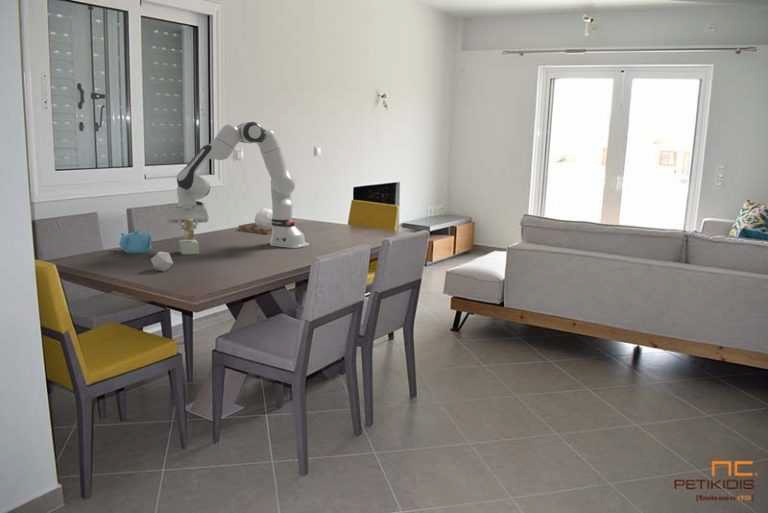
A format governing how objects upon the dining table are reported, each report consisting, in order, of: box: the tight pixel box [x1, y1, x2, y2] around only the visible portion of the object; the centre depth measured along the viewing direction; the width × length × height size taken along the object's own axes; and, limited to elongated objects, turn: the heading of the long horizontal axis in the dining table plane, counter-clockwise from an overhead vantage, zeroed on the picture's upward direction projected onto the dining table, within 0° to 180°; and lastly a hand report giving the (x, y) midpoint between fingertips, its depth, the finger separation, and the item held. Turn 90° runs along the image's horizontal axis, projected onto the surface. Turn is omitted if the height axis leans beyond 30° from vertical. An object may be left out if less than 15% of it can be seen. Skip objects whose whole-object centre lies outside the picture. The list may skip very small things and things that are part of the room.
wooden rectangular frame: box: [237, 222, 272, 235], centre depth 406 cm, size 24×24×3 cm
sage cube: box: [179, 239, 200, 255], centre depth 330 cm, size 8×8×6 cm
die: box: [150, 251, 174, 272], centre depth 290 cm, size 8×9×10 cm
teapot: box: [119, 229, 153, 255], centre depth 328 cm, size 15×15×11 cm
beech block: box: [183, 219, 195, 240], centre depth 328 cm, size 4×4×10 cm
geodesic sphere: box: [254, 207, 272, 229], centre depth 406 cm, size 15×14×14 cm
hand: (188, 228), depth 327 cm, fingers open, 4 cm apart
